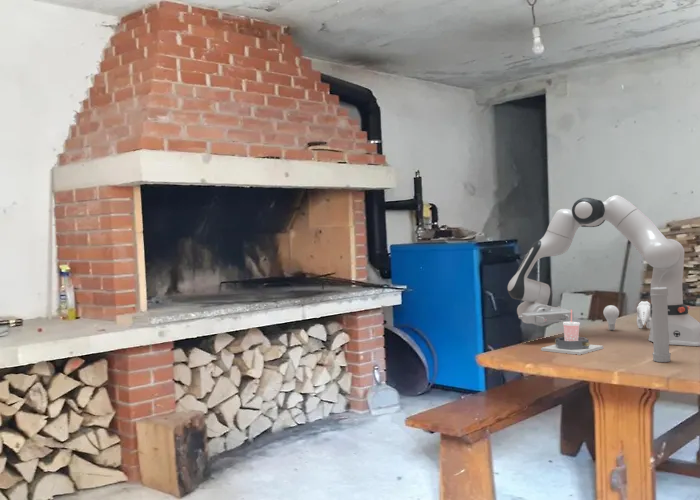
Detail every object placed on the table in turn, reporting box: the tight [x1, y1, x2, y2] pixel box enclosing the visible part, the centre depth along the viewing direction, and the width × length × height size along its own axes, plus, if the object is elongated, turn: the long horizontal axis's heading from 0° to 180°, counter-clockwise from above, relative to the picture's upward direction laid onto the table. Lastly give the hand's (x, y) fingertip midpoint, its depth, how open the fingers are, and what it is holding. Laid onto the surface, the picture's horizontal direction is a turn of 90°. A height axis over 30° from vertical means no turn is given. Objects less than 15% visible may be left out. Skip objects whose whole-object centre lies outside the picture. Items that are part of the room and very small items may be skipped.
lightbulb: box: [602, 304, 620, 332], centre depth 292 cm, size 6×6×11 cm
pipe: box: [649, 270, 672, 363], centre depth 225 cm, size 6×6×30 cm
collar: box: [554, 336, 591, 350], centre depth 253 cm, size 13×11×3 cm
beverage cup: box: [562, 308, 581, 341], centre depth 253 cm, size 6×6×14 cm
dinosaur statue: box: [636, 300, 651, 330], centre depth 294 cm, size 7×24×11 cm, turn 154°
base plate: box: [540, 343, 604, 356], centre depth 253 cm, size 16×16×1 cm
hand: (556, 319), depth 264 cm, fingers open, 8 cm apart
